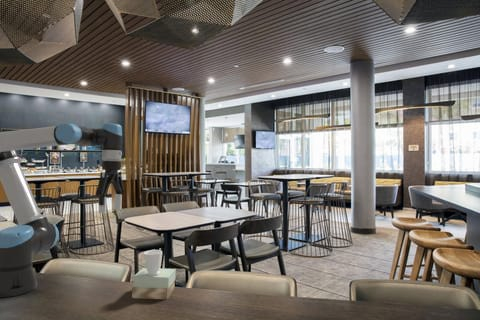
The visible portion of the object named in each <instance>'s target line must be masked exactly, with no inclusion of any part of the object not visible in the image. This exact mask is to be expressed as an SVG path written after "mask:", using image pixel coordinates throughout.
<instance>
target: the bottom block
mask: <svg viewBox="0 0 480 320" xmlns="http://www.w3.org/2000/svg"><path fill="white" fill-rule="evenodd" d="M175 281H176V280H175ZM175 281H174V282H173V283H172V285H171V286H170V287H169V289H166V288H138V287H133V286H132V288H131V298H132V299H148V300H149V299H151V300H168V299H169V298H170V296H171V294H172V293H173V292H174V290H175V287H176V286H175V284H176V283H175Z"/></svg>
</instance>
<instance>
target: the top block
mask: <svg viewBox="0 0 480 320" xmlns="http://www.w3.org/2000/svg"><path fill="white" fill-rule="evenodd" d="M176 271H177V269H176V268H161V267H160V271H159V272H160V274H158V275H154V276H149V275H148V271H147V268H146V267H142V268H141V269H140V270H139V271H138V272H137V273H136V274H134V275H133V279H132V280H133V283H132V285H133V286H132V288H133V287H138V288H166V289H169V287H170V286H171V285H172V283H173V282H174V281H176V279H177V278H176Z"/></svg>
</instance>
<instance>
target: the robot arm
mask: <svg viewBox="0 0 480 320" xmlns="http://www.w3.org/2000/svg"><path fill="white" fill-rule="evenodd" d="M122 144H123V127H122V125H120V124H118V123H110V122H109V123H104V124H103V125H102V128H90V127H85V126H81V125H78V124H75V123H73V122H69V123H68V122H66V123H65V122H64V123H61V124H59V125H55V126H54V125H53V126H45V127H36V128H28V129H18V130H10V131H1V132H0V183H1V186H2V188H3V190H4V192H5V195H6V197H7V199H8V200H7V201H8V202H9V204H10V207H11V209H12V211H13V213H14V215H15V218H16V221H17V225H15V226H9V227H5V228H3V229H0V298H10V297H16V296H21V295H23V294H24V295H25V294H27V293H30V292H32V291H35V289H36V288H37V287H38V280H37V278H36V274H35V271H34V268H33V258H34V257H33V256H36V255H38V254H41V253H45V252H46V251H49V250H50V249H52V248H53V247H55V245H56V244H57V242H58V241H59V237H60V231H59V229H58V227H57V225H56V224H54V223H52V222H50V221H49V220H48V218H47V217H48V216H46V215H44V214H42V213H41V211H40V208H39V206H38V204H37V202H36V200H35V197H34V195H33V192H32V189H31V188H30V186H29V183H28V180H27V178H26V176H25V173H24V171H23V169H22V167H21V162H22V161H23V159H22V155H23V152H24V150H30V149H38V148H40V149H41V148H46V147H47V148H48V147H57V146H68V145H75V146H77V147H84V148H85V147H101V148H102V154H101V155H102V156H101V159H102V162H101V169H102V170H103V171H100V175H99V180H98V184H97V188H96V190H95V191H96V192H95V196H96V197H97V198H98V214H102V215H103V214H106V213H107V196H106V195H107V192H108V190H109V188H110V185H112V186H113V189H114V192H115V194H114V210H122V201H123V200H122V199H123V198H122V197H123V196H122V195H124V194H125V187H124V183H123V178H122V171H120V170H122V162H121V160H122V155H123V152H122V146H123V145H122Z"/></svg>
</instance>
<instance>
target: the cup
mask: <svg viewBox="0 0 480 320" xmlns="http://www.w3.org/2000/svg"><path fill="white" fill-rule="evenodd" d="M162 257H163V251H162V250H161V249H151V250H146V251H144V252H143V258H144V262H145V268H147V271H148V275H149V276H154V275H158V274H160V272H159V271H160V268H161V266H162V259H163V258H162Z"/></svg>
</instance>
